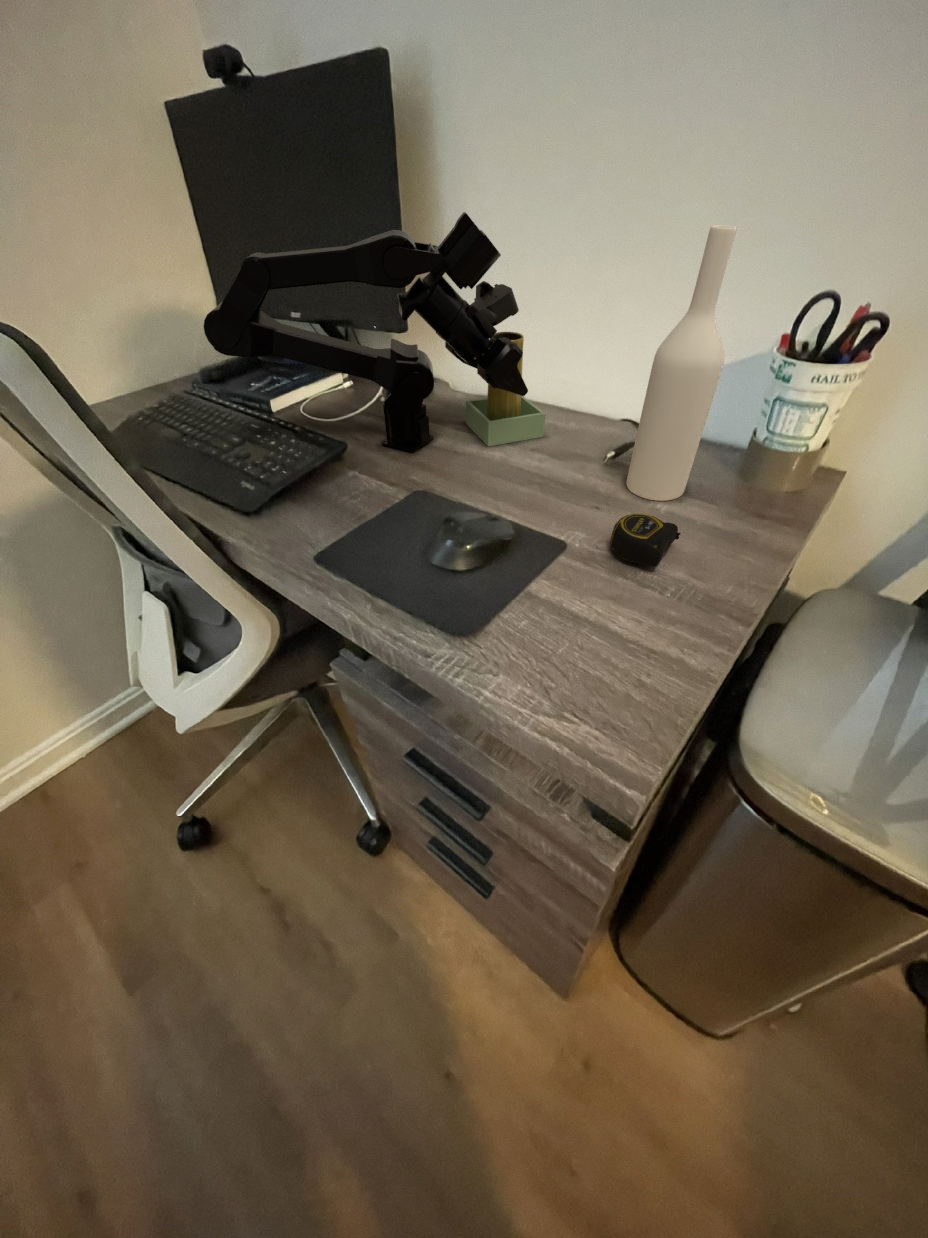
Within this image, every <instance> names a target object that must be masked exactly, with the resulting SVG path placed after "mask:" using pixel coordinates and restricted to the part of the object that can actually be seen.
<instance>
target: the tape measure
mask: <svg viewBox="0 0 928 1238" xmlns="http://www.w3.org/2000/svg"><path fill="white" fill-rule="evenodd" d="M611 532H612V533H611V538H610V543H611V544H610V546H611V549H612V550H613V552H614V553H615V554H616V555H617V556H618V557H620V558H621V559H623V560H624V561H626V562H629V563H633V564H634V563H635V564H639V565H643V566H646V567H653V568H654V567H657V566H658V565H659V564H660V563H661V561H662V559H663V557H664V555H665V554H666V553H667V551H668V550H669V549H670V548H671V546H672V544H673V543H674V542H675V540H679V539H680V536H681V534H682V533H681V532H679V527H678V526H677V524H675V523H673V522H668V521H667V522H664V521H662V520H661V519H659V518H658V517H656V516H653V515H649V514H644V513H631V514H627V515H624V516H622V517H621V518H619V520H618V521H616V523H615V524H614V526H613V529H612V531H611Z"/></svg>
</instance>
